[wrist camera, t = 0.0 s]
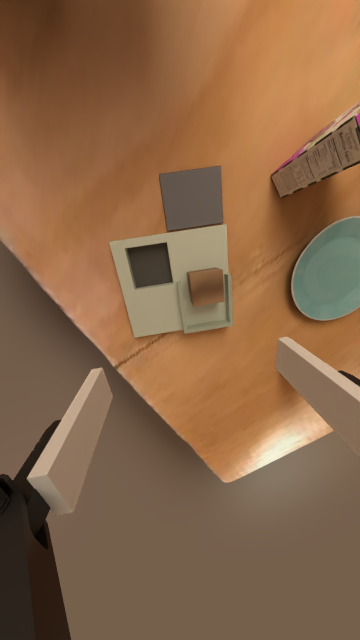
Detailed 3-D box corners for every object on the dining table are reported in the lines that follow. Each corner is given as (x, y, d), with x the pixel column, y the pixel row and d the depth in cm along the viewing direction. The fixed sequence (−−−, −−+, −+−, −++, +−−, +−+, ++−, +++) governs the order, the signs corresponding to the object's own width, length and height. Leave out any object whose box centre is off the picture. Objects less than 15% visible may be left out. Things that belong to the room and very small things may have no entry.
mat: (159, 175, 32) (159, 174, 31) (219, 166, 32) (220, 165, 32) (167, 231, 35) (167, 230, 35) (222, 222, 35) (223, 222, 35)
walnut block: (186, 272, 36) (189, 274, 32) (215, 267, 36) (222, 269, 32) (190, 300, 38) (193, 306, 34) (217, 296, 38) (224, 301, 34)
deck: (112, 242, 35) (105, 241, 31) (222, 225, 35) (230, 222, 31) (136, 333, 42) (133, 342, 38) (226, 318, 43) (233, 325, 39)
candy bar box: (321, 126, 31) (473, 9, 16) (332, 155, 33) (477, 74, 18) (267, 175, 33) (356, 112, 18) (279, 200, 35) (370, 161, 20)
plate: (373, 299, 45) (386, 303, 42) (288, 328, 46) (296, 333, 43) (382, 201, 37) (399, 198, 34) (278, 239, 38) (287, 239, 35)
